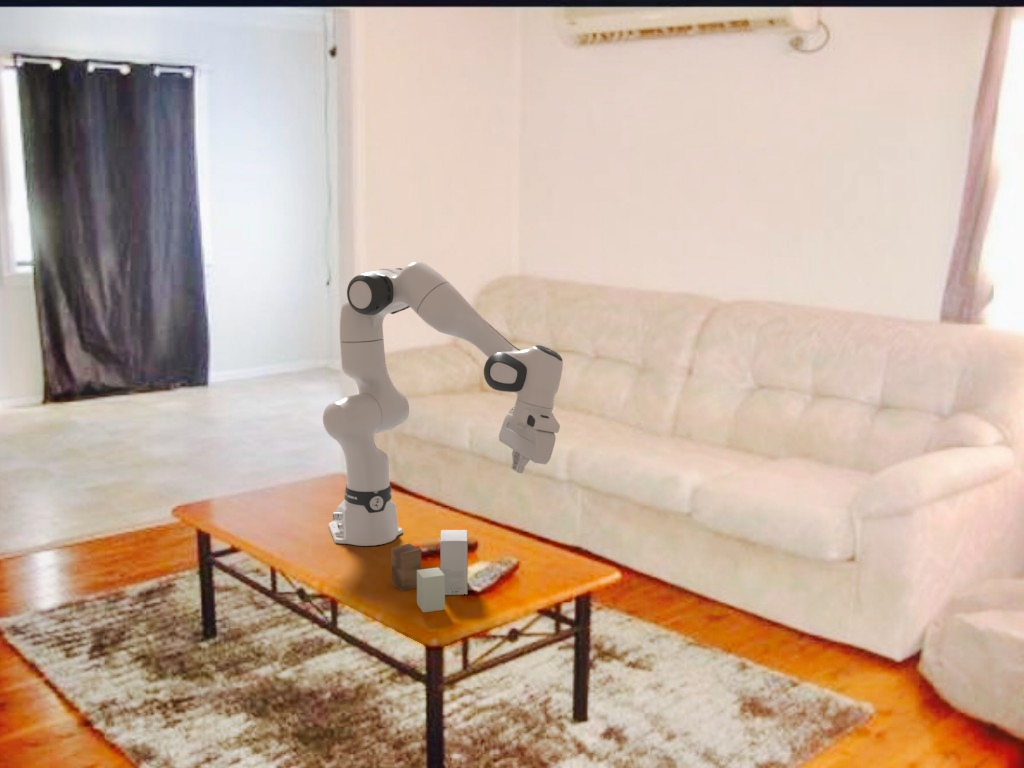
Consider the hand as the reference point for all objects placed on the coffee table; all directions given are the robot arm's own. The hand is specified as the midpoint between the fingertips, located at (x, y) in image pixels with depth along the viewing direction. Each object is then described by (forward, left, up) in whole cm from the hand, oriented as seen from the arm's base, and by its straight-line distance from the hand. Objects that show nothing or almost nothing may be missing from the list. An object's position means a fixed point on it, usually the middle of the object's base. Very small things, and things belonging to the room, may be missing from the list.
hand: (516, 471), depth 245 cm
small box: (+1, -17, -26) cm, 31 cm away
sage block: (+8, -26, -26) cm, 38 cm away
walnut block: (-6, -26, -26) cm, 37 cm away
